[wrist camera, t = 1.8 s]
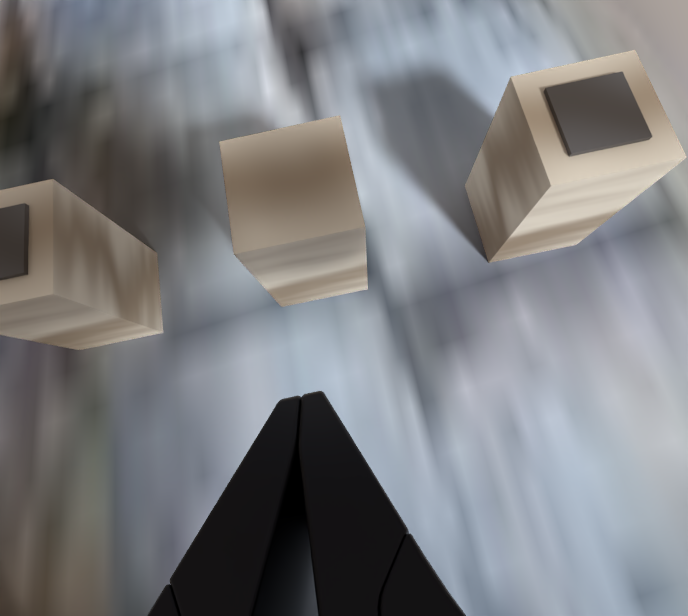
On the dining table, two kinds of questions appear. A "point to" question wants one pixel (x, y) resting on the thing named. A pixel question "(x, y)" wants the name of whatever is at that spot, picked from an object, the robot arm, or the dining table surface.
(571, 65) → the marked block 1
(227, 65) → the dining table surface
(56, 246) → the marked block 2
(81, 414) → the dining table surface
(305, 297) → the plain block
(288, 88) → the dining table surface
